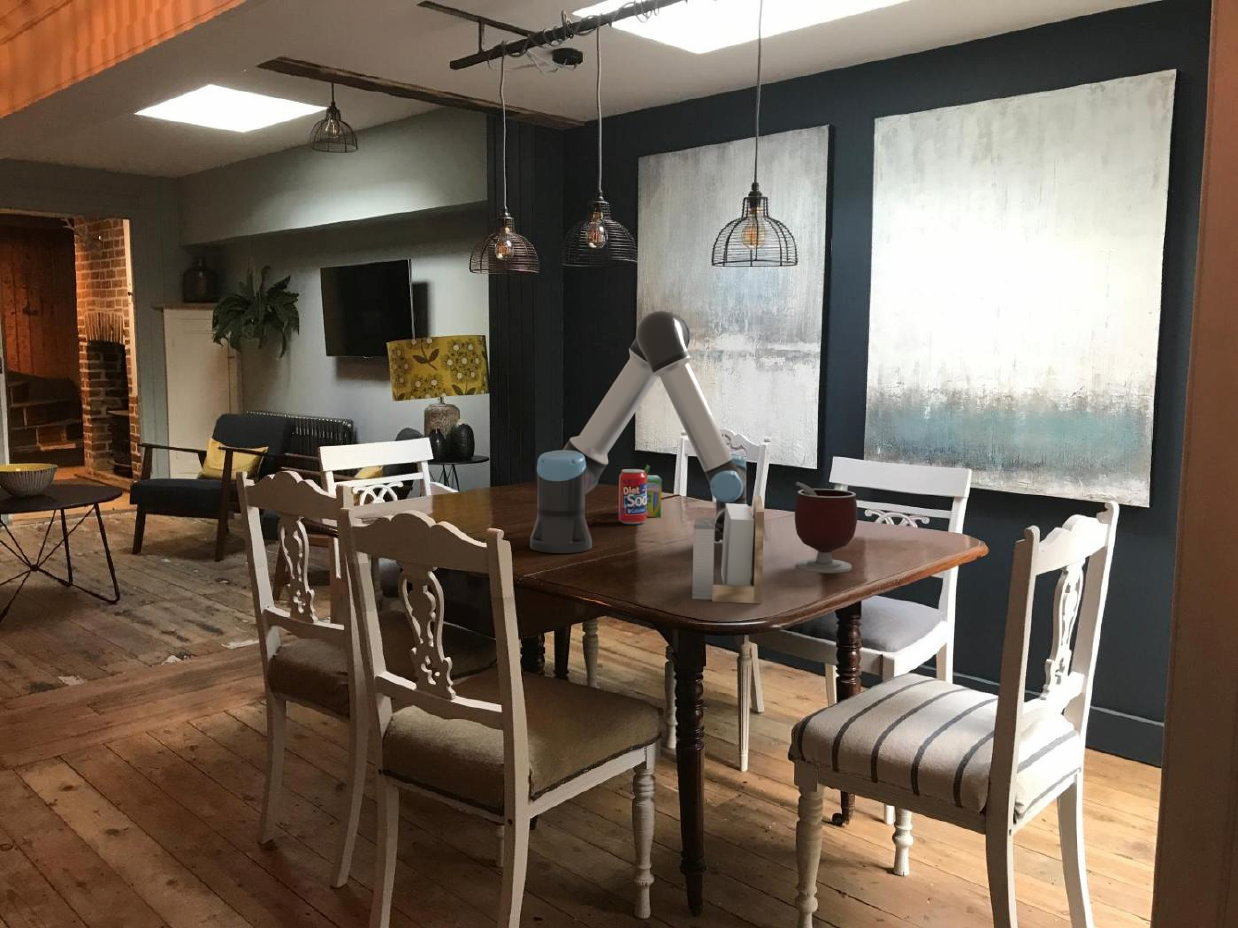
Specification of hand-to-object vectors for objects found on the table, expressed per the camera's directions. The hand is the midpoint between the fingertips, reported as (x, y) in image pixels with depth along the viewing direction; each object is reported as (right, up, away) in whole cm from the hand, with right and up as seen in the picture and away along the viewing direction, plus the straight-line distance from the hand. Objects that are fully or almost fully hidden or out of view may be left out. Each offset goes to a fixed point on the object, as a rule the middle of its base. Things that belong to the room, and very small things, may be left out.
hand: (731, 542), depth 218 cm
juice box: (-17, +2, +77) cm, 79 cm away
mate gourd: (+21, -6, +9) cm, 24 cm away
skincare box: (0, -8, -10) cm, 13 cm away
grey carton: (-8, -9, -17) cm, 21 cm away
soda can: (-21, 0, +64) cm, 67 cm away
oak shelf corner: (-1, -8, -12) cm, 15 cm away
